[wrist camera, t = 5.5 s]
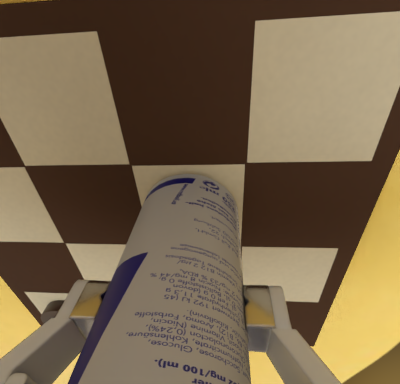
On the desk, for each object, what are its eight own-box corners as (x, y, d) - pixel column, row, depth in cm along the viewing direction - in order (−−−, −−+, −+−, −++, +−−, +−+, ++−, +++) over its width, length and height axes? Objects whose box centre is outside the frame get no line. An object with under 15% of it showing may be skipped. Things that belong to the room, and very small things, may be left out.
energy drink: (131, 217, 15) (-29, 574, 6) (173, 151, 13) (-4, 636, 3) (205, 253, 17) (180, 589, 7) (257, 201, 14) (338, 642, 4)
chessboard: (-206, 21, 10) (-210, 21, 10) (477, -34, 8) (479, -34, 8) (46, 331, 25) (46, 332, 25) (313, 345, 23) (313, 346, 23)
